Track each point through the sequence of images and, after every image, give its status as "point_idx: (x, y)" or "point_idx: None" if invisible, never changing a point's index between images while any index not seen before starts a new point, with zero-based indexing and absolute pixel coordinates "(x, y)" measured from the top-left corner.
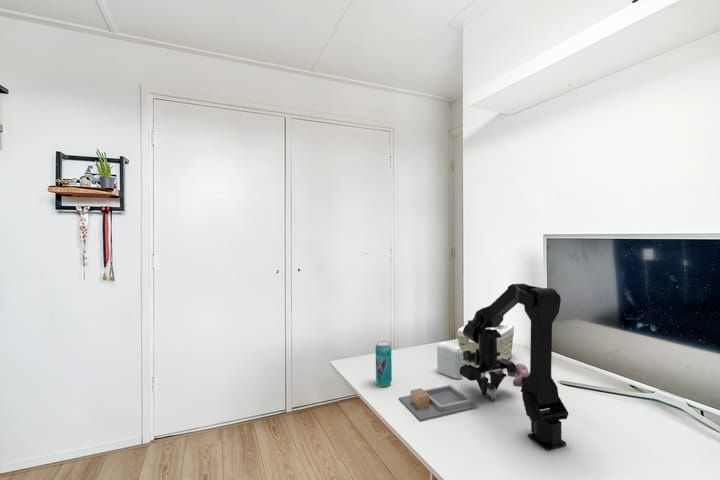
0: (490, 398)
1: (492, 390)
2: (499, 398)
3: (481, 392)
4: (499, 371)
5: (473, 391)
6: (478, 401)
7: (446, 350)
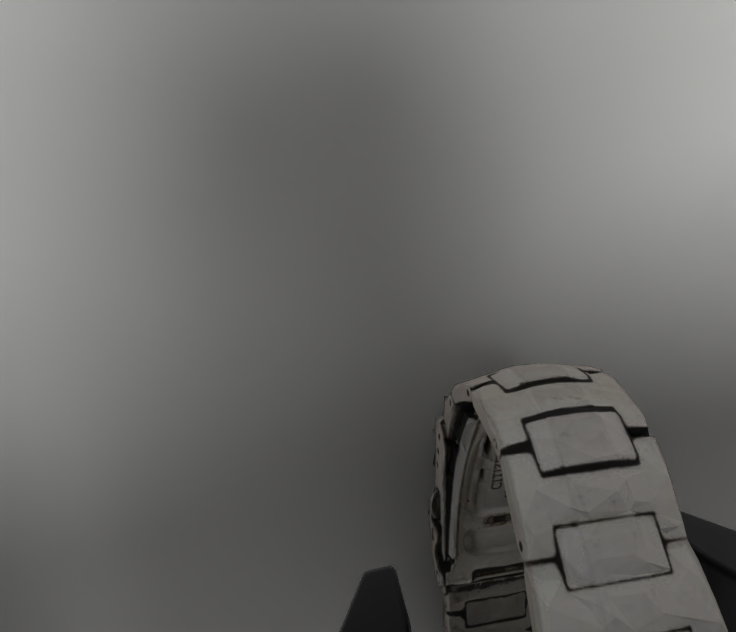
0: (505, 601)
1: None
2: None
3: (347, 615)
4: None
5: (325, 160)
6: (197, 629)
7: None
